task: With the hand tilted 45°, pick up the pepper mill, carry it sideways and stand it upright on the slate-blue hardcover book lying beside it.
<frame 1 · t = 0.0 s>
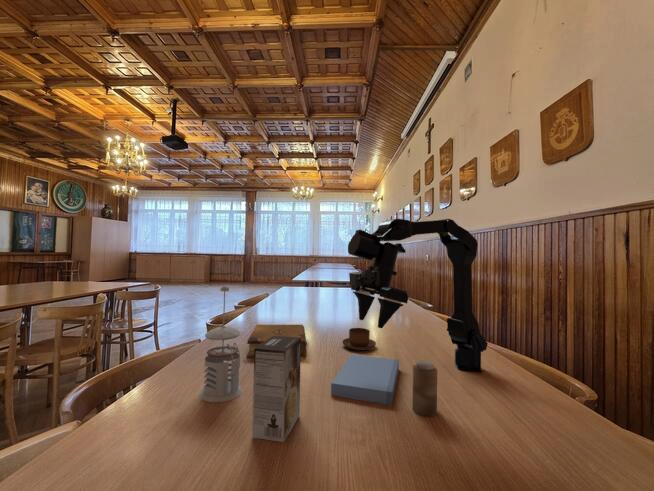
hand: (370, 323, 77), 15 cm above the table, tool pointing down, fingers open, 9 cm apart
coffee box: (277, 427, 57), on the table
cup and saucer: (358, 348, 108), on the table
french press: (223, 394, 70), on the table
diary: (278, 348, 107), on the table
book: (368, 381, 79), on the table
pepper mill: (424, 410, 64), on the table
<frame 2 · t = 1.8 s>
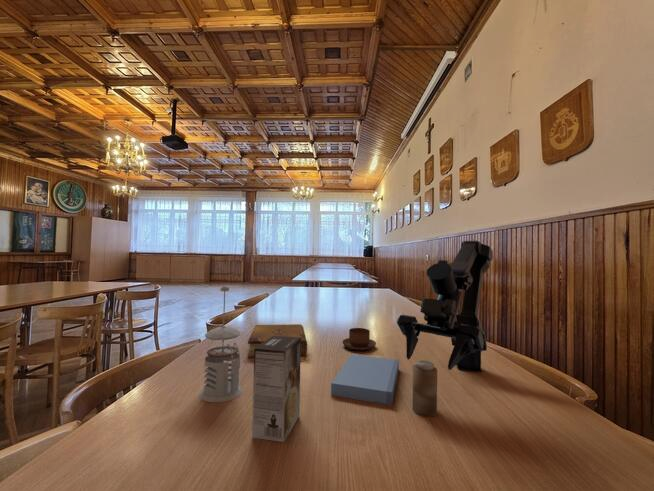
hand: (427, 363, 66), 10 cm above the table, tool tilted 45°, fingers open, 9 cm apart
nothing on the table moved.
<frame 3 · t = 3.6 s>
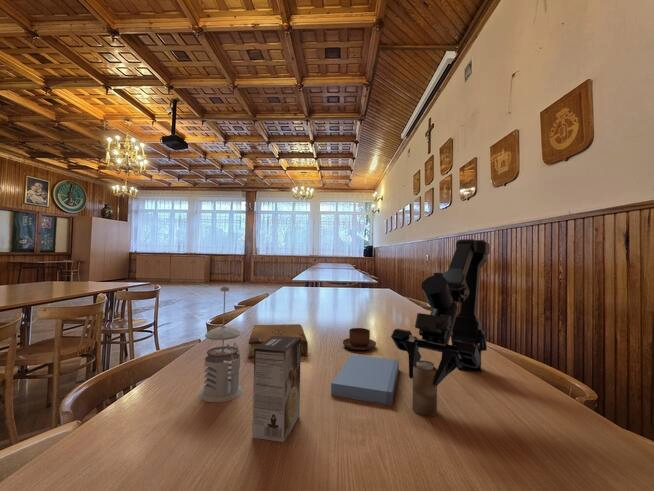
hand: (422, 381, 64), 7 cm above the table, tool tilted 45°, fingers closed on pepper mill, 5 cm apart
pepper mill: (424, 410, 64), on the table, touching gripper
everything else where it was.
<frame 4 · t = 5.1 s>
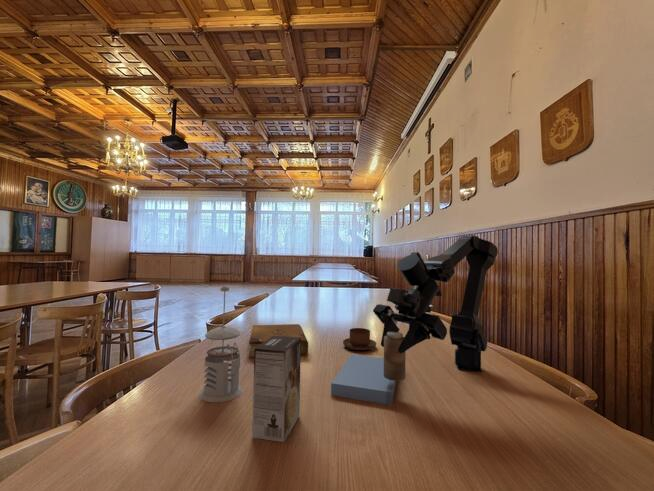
hand: (390, 349, 70), 11 cm above the table, tool tilted 45°, fingers closed on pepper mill, 5 cm apart
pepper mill: (394, 376, 70), point 5 cm above the table, touching gripper
everything else where it was.
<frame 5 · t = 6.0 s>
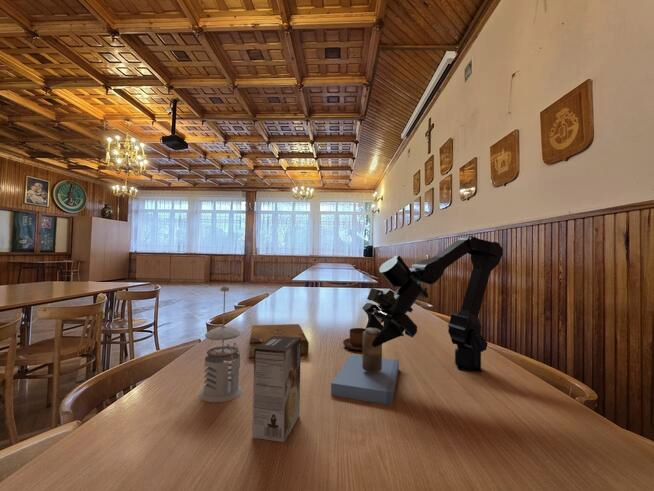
hand: (367, 342, 78), 10 cm above the table, tool tilted 45°, fingers closed on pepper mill, 5 cm apart
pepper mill: (372, 368, 78), point 4 cm above the table, touching gripper
everything else where it was.
when the fingers open (10 cm above the table, at t = 6.5 s): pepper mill drops 1 cm, resting on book.
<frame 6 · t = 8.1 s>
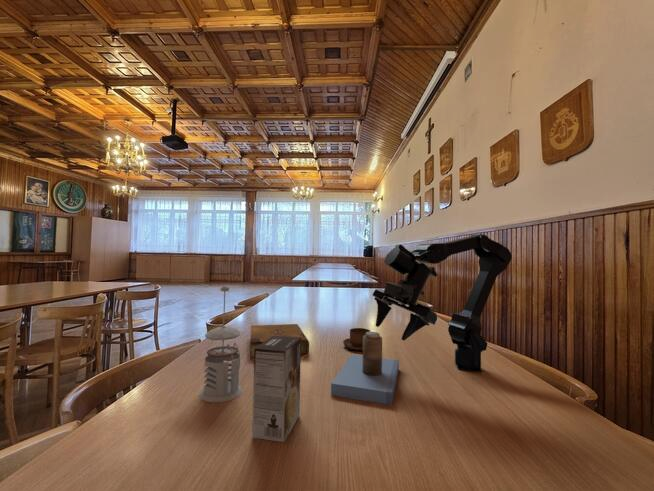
hand: (389, 332, 82), 12 cm above the table, tool tilted 30°, fingers open, 9 cm apart
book: (368, 382, 79), on the table, touching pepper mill
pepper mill: (372, 372, 78), point 3 cm above the table, touching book
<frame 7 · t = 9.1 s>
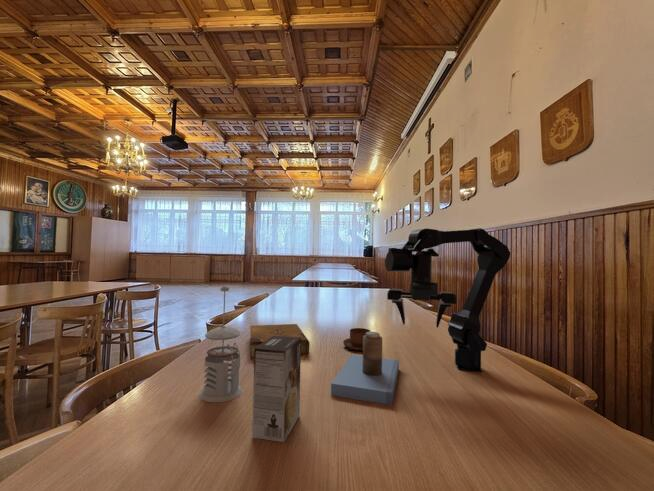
hand: (420, 325, 87), 13 cm above the table, tool pointing down, fingers open, 9 cm apart
nothing on the table moved.
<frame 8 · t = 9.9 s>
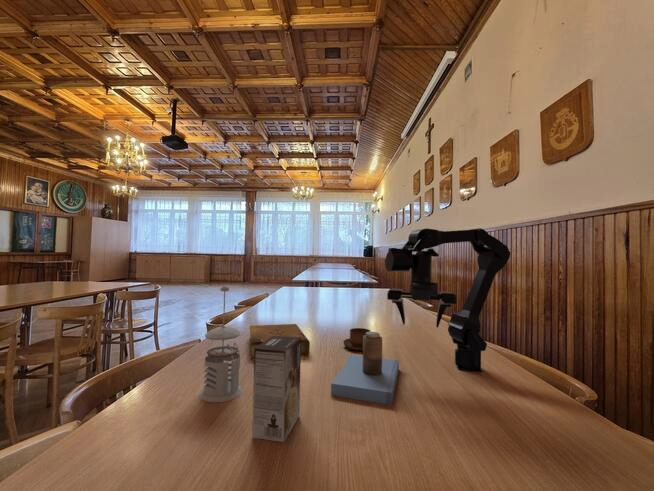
hand: (420, 325, 87), 13 cm above the table, tool pointing down, fingers open, 9 cm apart
nothing on the table moved.
at the end: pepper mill inside the target area on the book (1.3 cm from its centre), point 3.0 cm above the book's base; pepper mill tilted 0°; the gripper is holding nothing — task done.
